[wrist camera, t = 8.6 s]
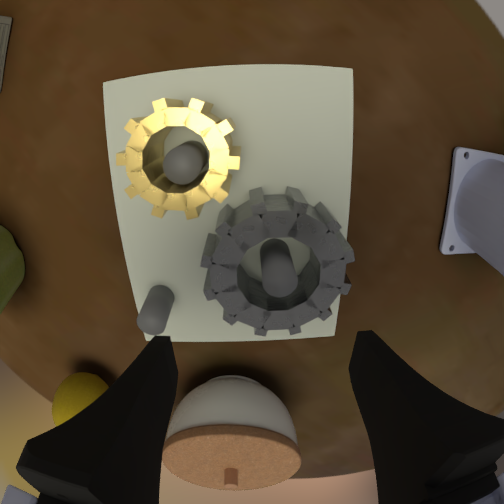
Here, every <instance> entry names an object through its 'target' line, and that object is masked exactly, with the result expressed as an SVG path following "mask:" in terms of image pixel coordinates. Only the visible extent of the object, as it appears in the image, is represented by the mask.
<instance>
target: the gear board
mask: <svg viewBox="0 0 504 504" xmlns="http://www.w3.org/2000/svg"><path fill="white" fill-rule="evenodd" d="M103 93H104V110H105V123H106V135H107V145H108V154H109V163H110V171H111V178H112V185H113V192H114V199H115V205H116V211H117V217H118V223H119V228H120V234H121V239H122V244H123V249H124V254H125V259H126V263H127V268H128V272H129V277H130V281H131V285H132V290H133V294H134V298H135V302H136V306H137V310H138V313H139V315H138V317H137V325H138V327H139V328H140V329H141V330H142V331H143V332H144V335H145V339H146V341H150V340H151V339H152V338H153V337H154V336H155V335H157V336H170V338H171V341H175V342H222V341H259V340H281V339H298V338H313V337H326V336H334V334H335V328H336V322H337V315H338V308H339V301H340V294H339V295H338V296H337V298H336V299H335V300H334V302H333V303H332V304H331V306H330V309H331V311H332V315H331V316H330V317H328V318H327V319H326V320H325V321H322V320H321V319H320V318H319V317H317V318H315V319H313V320H311V321H309V322H308V323H306V324H304V325H302V326H300V327H301V333H297V334H294V335H290V333H289V330H288V329H285V330H268V331H267V334H266V337H265V336H259V335H254V327H251V326H249V325H247V324H244V323H242V322H239V321H237V322H236V323H235V324H233V325H232V326H231V325H230V324H229V323H227V322H226V321H224V320H223V309H224V308H223V307H222V306H221V305H220V303H219V302H218V301H217V300H216V299H214V300H210V301H207V299H206V297H205V294H204V292H203V288H204V283H205V279H206V274H207V269H208V268H203V267H200V265H201V259H202V254H203V250H204V247H205V243H206V240H207V236H208V233H212V234H217V233H216V232H215V228H216V223H217V219H218V215H219V212H220V211H221V210H222V208H223V207H224V206H225V205H226V204H227V203H228V204H229V205H230V206H231V207H232V208H233V209H235V208H236V207H238V206H240V205H241V204H243V203H245V202H246V201H248V200H250V196H249V190H251V189H255V188H258V187H261V188H262V191H263V194H264V195H273V194H285V192H286V188H287V186H289V187H293V188H297V189H299V190H300V191H301V193H302V194H303V196H304V198H305V199H306V201H307V202H308V204H310V205H312V206H313V207H314V206H315V205H317V204H318V203H319V202H320V201H321V202H322V203H323V204H324V205H325V206H326V208H327V209H328V210H329V211H330V212H331V214H332V215H333V216H334V218H335V219H336V220H337V221H338V223H339V224H340V225H341V227H342V228H341V229H340V232H341V233H342V235H343V236H344V237H345V239H346V240H347V230H348V218H349V205H350V190H351V172H352V148H353V69H350V68H340V67H328V66H312V65H285V64H254V65H228V66H212V67H200V68H190V69H181V70H172V71H165V72H158V73H151V74H145V75H139V76H133V77H128V78H123V79H118V80H113V81H108V82H104V83H103ZM163 98H169V99H177V100H182V101H183V105H184V108H188V106H189V104H190V101H191V99H192V98H195V99H199V100H204V101H207V102H209V103H212V104H213V107H212V109H211V111H210V112H211V113H212V114H214V115H216V116H217V117H219V118H220V119H222V121H224V120H226V119H228V118H230V117H231V119H232V120H233V122H234V123H235V125H236V127H235V128H234V130H233V131H231V132H230V135H231V137H232V140H233V144H232V146H241V155H240V165H239V170H238V169H229V171H228V173H230V174H231V175H232V180H231V185H230V190H229V195H228V196H227V197H226V198H225V199H224V200H223V202H222V203H219V202H218V201H217V200H215V199H214V198H212V199H211V200H209V201H207V202H205V203H204V206H203V208H202V210H201V213H200V215H199V217H197V218H193V219H189V220H187V218H186V215H185V212H184V211H176V210H168V211H167V212H166V214H165V215H164V216H163V218H162V219H161V218H159V217H156V216H153V215H151V212H152V209H153V206H154V205H153V204H151V203H149V202H148V201H146V200H145V199H143V198H141V197H140V195H138V194H137V195H136V196H135V197H133V198H132V199H130V197H129V196H128V195H127V193H126V192H125V190H124V189H126V188H127V187H128V186H129V185H131V184H132V183H131V181H130V179H129V178H128V176H127V174H126V173H128V172H126V166H116V153H118V152H121V151H123V150H126V144H127V143H128V141H129V139H130V137H131V134H130V133H129V132H127V131H126V130H125V129H124V127H125V126H126V124H127V123H128V121H129V120H130V119H131V118H137V117H146V116H150V115H152V114H153V113H155V111H154V107H153V103H152V102H154V101H157V100H160V99H163ZM164 156H165V158H164V161H163V170H164V173H165V175H166V177H167V178H168V179H169V180H170V181H172V182H174V183H176V184H188V183H190V182H192V181H193V180H195V179H196V177H197V176H198V175H199V174H200V173H202V172H204V171H206V170H208V169H209V161H210V151H209V149H208V147H207V145H206V144H205V142H204V140H203V138H202V136H201V135H199V134H198V133H196V132H195V131H193V130H191V129H190V128H188V127H186V126H176V127H174V128H172V129H171V131H170V132H169V134H168V136H167V137H166V139H165V141H164ZM309 260H310V247H309V246H307V245H305V244H303V243H301V242H299V241H297V240H295V239H293V238H292V237H289V238H267V239H265V240H264V241H262V242H260V243H258V244H257V245H255V246H253V247H251V248H250V249H248V250H247V251H246V253H245V255H244V256H243V258H242V260H241V261H240V265H241V266H242V267H243V269H244V270H245V272H246V273H247V274H248V276H250V277H252V278H254V279H256V280H258V281H261V282H263V288H264V290H265V291H266V292H267V293H268V294H269V295H271V296H274V297H285V296H287V295H289V294H291V293H292V292H293V291H294V290H295V289H296V287H297V284H298V278H297V275H299V274H300V273H301V271H302V270H303V268H304V267H305V266H306V264H307V263H308V261H309Z"/></svg>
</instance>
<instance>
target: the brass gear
mask: <svg viewBox="0 0 504 504" xmlns="http://www.w3.org/2000/svg"><path fill="white" fill-rule="evenodd" d="M152 103H153V107H154V111H155V113H153V114H152V115H150V116H146V117H137V118H131V119H130V120H129V121H128V123H127V124H126V126H125V127H124V129H125V130H126V131H127V132H129V133H130V134H131V137H130V139H129V141H128V143H127V144H126V150H123V151H121V152H118V153H116V166H126V172H128V173H126V174H127V176H128V178H129V179H130V181H131V183H132V184H131V185H129V186H128V187H127V188H126V189H124V190H125V192H126V193H127V195H128V196H129V197H130V199H132V198H133V197H135V196H136V195H137V194H138V195H140V197H141V198H143V199H145V200H146V201H148V202H149V203H151V204H153V205H154V206H153V209H152V212H151V215H153V216H156V217H159V218H161V219H162V218H163V216H164V215H165V214H166V212H167V211H168V210H176V211H184V212H185V215H186V218H187V220H189V219H193V218H197V217H199V215H200V213H201V210H202V208H203V206H204V203H205V202H207V201H209V200H211V199H212V198H214V199H215V200H217V201H218V202H219V203H222V202H223V200H224V199H225V198H226V197H227V196H228V195H229V190H230V185H231V180H232V175H231V174H230V173H228V171H229V169H238V170H239V165H240V155H241V146H232V144H233V140H232V137H231V135H230V132H231V131H233V130H234V128H235V127H236V125H235V123H234V122H233V120H232V119H231V117H230V118H228V119H226V120H224V121H222V119H220V118H219V117H217V116H216V115H214V114H212V113H211V112H210V111H211V109H212V107H213V104H212V103H209V102H207V101H204V100H199V99H195V98H192V99H191V101H190V104H189V106H188V108H184V105H183V101H182V100H177V99H169V98H163V99H160V100H157V101H154V102H152ZM176 126H186V127H188V128H190V129H191V130H193V131H195V132H196V133H198V134H199V135H201V136H202V138H203V140H204V142H205V144H206V145H207V147H208V149H209V151H210V161H209V169H208V170H206V171H204V172H202V173H200V174H199V175H198V176H197V177H196V179H195V180H193V181H192V182H190V183H188V184H176V183H174V182H172V181H170V180H169V179H168V178H167V177H166V175H165V173H164V170H163V161H164V158H165V156H164V141H165V139H166V137H167V136H168V134H169V132H170V131H171V129H172V128H174V127H176Z"/></svg>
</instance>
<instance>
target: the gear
mask: <svg viewBox="0 0 504 504" xmlns="http://www.w3.org/2000/svg"><path fill="white" fill-rule="evenodd" d="M249 196H250V200H248V201H246V202H245V203H243V204H241V205H240V206H238V207H236V208H235V209H233V208H232V207H231V206H230V205H229V204H228V203H227V204H226V205H225V206H224V207H223V208H222V210H221V211H220V212H219V215H218V219H217V223H216V228H215V232H216V233H217V234H212V233H208V236H207V240H206V243H205V247H204V250H203V254H202V259H201V265H200V267H203V268H208V269H207V274H206V279H205V283H204V288H203V292H204V294H205V297H206V299H207V301H210V300H214V299H216V300H217V301H218V302H219V303H220V305H221V306H222V307H223V308H224V309H223V320H224V321H226V322H227V323H229V324H230V325H231V326H232V325H233V324H235V323H236V322H237V321H239V322H242V323H244V324H247V325H249V326H251V327H254V335H259V336H265V337H266V334H267V331H268V330H285V329H288V330H289V333H290V335H294V334H297V333H301V327H300V326H302V325H304V324H306V323H308V322H309V321H311V320H313V319H315V318H317V317H319V318H320V319H321V320H322V321H325V320H326V319H327V318H328V317H330V316H331V315H332V311H331V309H330V306H331V304H332V303H333V302H334V300H335V299H336V298H337V296H338V295H339V294H344V295H347V294H348V292H349V290H350V288H351V285H352V284H351V282H350V280H349V279H348V277H347V275H346V273H345V270H346V264H347V263H350V262H354V261H355V259H354V252H353V249H352V247H351V246H350V245H349V243H348V242H347V240H346V239H345V237H344V236H343V235H342V233H341V232H340V229H341V228H342V227H341V225H340V224H339V223H338V221H337V220H336V219H335V218H334V216H333V215H332V214H331V212H330V211H329V210H328V209H327V208H326V206H325V205H324V204H323V203H322V202H321V201H320V202H319V203H318V204H317V205H315V206H314V207H313V206H312V205H310V204H308V202H307V201H306V199H305V198H304V196H303V194H302V193H301V191H300V190H299V189H297V188H293V187H289V186H287V188H286V192H285V194H273V195H264V194H263V191H262V188H261V187H258V188H255V189H251V190H249ZM289 237H292V238H293V239H295V240H297V241H299V242H301V243H303V244H305V245H307V246H309V247H310V260H309V261H308V263H307V264H306V266H305V267H304V268H303V270H302V271H301V273H300V274H299V275H297V278H298V284H297V287H296V289H295V290H294V291H293V292H292V293H291V294H289V295H287V296H285V297H274V296H271V295H269V294H268V293H267V292H266V291H265V290H264V288H263V282H261V281H258V280H256V279H254V278H252V277H250V276H248V274H247V273H246V272H245V270H244V269H243V267H242V266H241V265H240V261H241V260H242V258H243V256H244V255H245V253H246V251H247V250H248V249H250V248H251V247H253V246H255V245H257V244H258V243H260V242H262V241H264V240H265V239H267V238H289Z"/></svg>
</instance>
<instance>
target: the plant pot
mask: <svg viewBox="0 0 504 504" xmlns="http://www.w3.org/2000/svg"><path fill="white" fill-rule="evenodd" d="M24 273H25V264H24V259H23V255H22V252H21V251H20V250H19V249H18V247H17V246H16V244H15V242H14V239H13V236H12V234H11V233H10V232H9V231H8V230H7V229H5V228H4V227H3V226H1V225H0V314H1V312H2V311H3V309H4V308H5V306H6V305H7V303H8V302H9V300H10V299H11V297H12V296H13V294H14V293H15V291H16V290H17V288H18V287H19V286H20V284H21V282H22V281H23V278H24Z"/></svg>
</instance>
